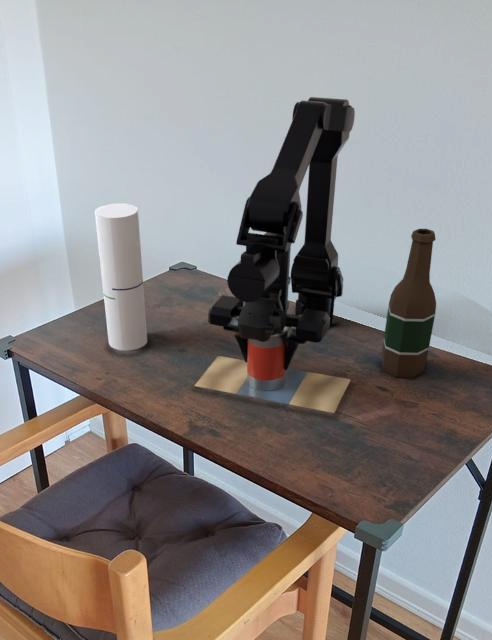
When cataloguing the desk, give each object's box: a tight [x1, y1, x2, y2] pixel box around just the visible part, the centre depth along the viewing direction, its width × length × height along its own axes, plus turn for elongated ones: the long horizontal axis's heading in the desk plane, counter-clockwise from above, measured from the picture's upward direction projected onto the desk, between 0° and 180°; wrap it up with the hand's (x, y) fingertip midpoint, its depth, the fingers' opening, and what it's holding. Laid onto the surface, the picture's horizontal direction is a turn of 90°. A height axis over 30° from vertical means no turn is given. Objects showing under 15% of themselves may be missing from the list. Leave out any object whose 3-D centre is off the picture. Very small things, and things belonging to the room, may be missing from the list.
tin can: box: [247, 327, 289, 391], centre depth 123 cm, size 6×6×10 cm
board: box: [194, 355, 352, 414], centre depth 126 cm, size 24×11×1 cm, turn 68°
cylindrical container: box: [94, 202, 148, 352], centre depth 132 cm, size 7×7×25 cm
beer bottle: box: [380, 228, 437, 379], centre depth 124 cm, size 8×8×24 cm
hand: (266, 365), depth 125 cm, fingers closed on tin can, 6 cm apart
